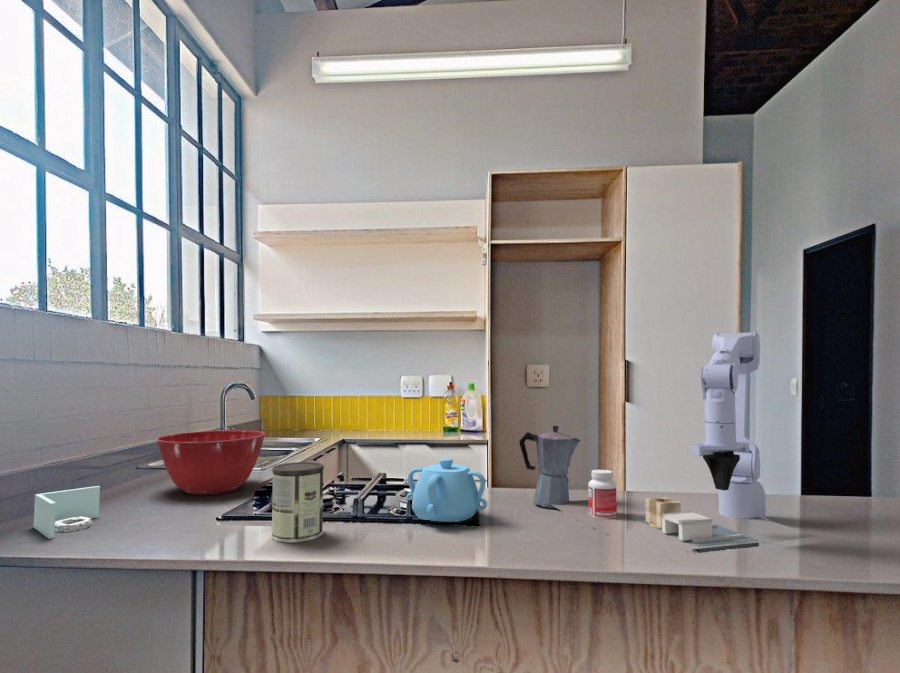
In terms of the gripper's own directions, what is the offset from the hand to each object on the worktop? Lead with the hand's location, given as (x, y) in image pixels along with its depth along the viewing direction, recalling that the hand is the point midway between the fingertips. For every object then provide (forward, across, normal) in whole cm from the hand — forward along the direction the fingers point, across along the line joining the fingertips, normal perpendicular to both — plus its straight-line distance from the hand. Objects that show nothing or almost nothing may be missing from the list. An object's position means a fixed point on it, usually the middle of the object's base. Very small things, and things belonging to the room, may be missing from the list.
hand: (721, 489), depth 114 cm
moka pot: (+10, +16, -38) cm, 42 cm away
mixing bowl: (+10, +93, -91) cm, 131 cm away
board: (+10, +3, -6) cm, 12 cm away
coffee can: (+10, +78, -38) cm, 88 cm away
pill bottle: (+10, +13, -21) cm, 27 cm away
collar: (+8, +7, -9) cm, 14 cm away
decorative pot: (+10, +45, -37) cm, 59 cm away
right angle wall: (+11, +121, -63) cm, 137 cm away
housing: (+8, +9, -1) cm, 12 cm away
